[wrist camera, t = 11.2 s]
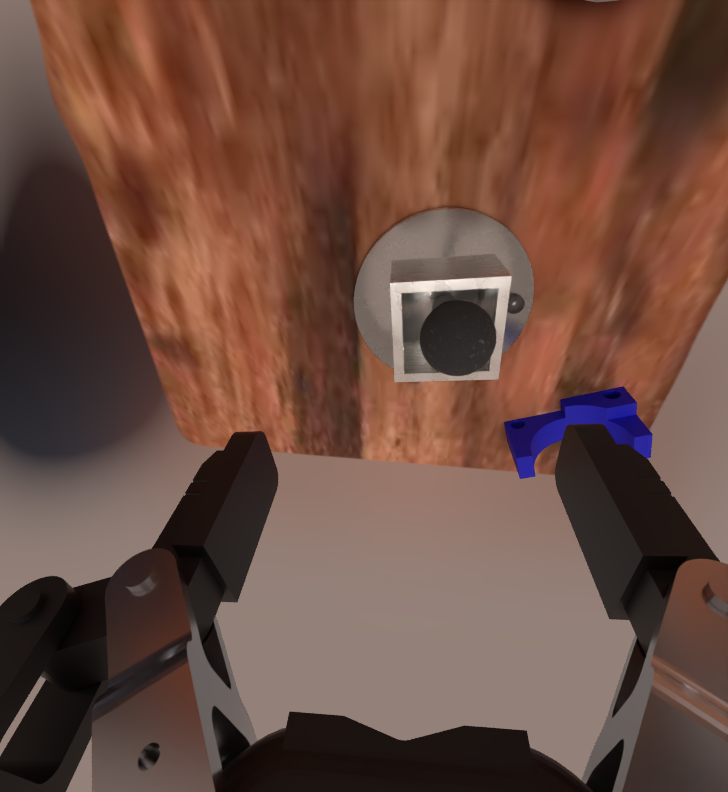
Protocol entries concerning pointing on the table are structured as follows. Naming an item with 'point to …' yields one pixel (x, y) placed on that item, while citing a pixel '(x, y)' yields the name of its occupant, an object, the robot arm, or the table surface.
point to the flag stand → (601, 0)
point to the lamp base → (441, 286)
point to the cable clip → (591, 408)
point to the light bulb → (457, 336)
